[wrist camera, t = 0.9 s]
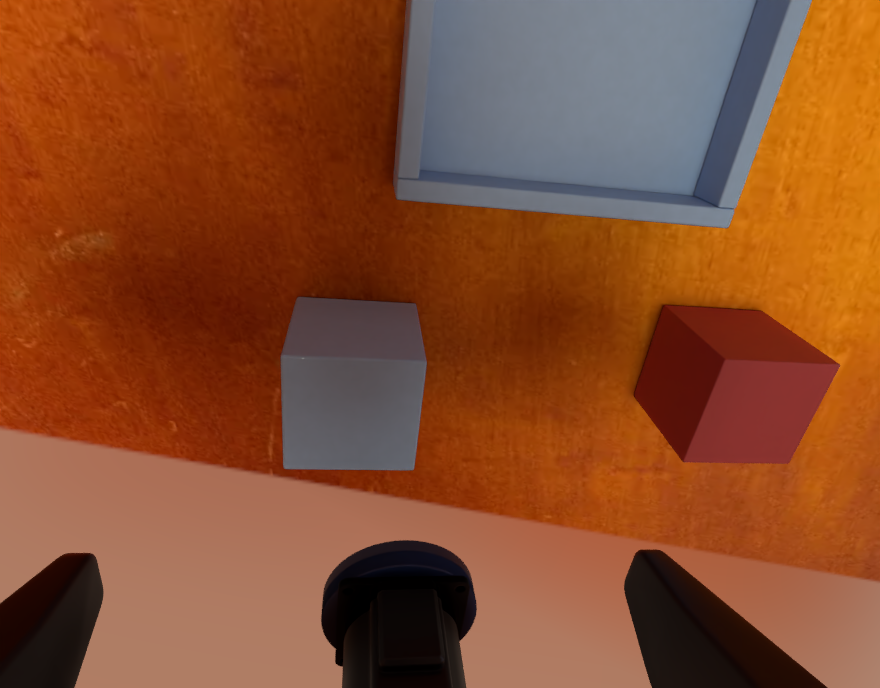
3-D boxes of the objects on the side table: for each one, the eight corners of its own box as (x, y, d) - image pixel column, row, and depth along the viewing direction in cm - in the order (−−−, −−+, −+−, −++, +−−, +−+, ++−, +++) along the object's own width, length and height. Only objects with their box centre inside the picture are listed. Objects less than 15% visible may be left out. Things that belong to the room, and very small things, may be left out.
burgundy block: (724, 399, 23) (789, 464, 19) (633, 396, 22) (682, 462, 19) (761, 310, 21) (841, 365, 17) (663, 304, 20) (725, 359, 17)
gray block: (406, 399, 21) (414, 471, 17) (297, 395, 20) (282, 470, 17) (416, 302, 19) (427, 361, 15) (296, 295, 18) (280, 355, 15)
